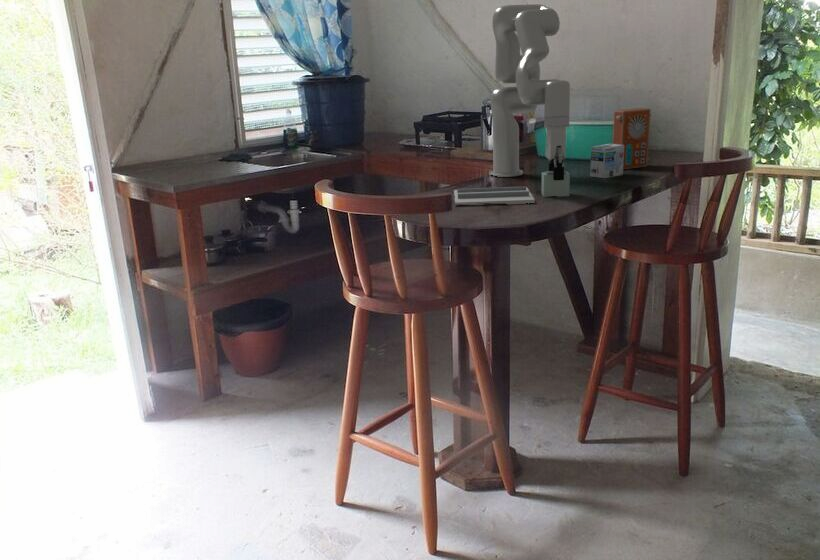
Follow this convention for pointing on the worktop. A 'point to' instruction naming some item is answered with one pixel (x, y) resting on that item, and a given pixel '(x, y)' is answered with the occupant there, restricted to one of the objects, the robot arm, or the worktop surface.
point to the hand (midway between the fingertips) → (556, 177)
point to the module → (555, 185)
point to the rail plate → (494, 195)
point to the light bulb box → (607, 160)
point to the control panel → (632, 135)
